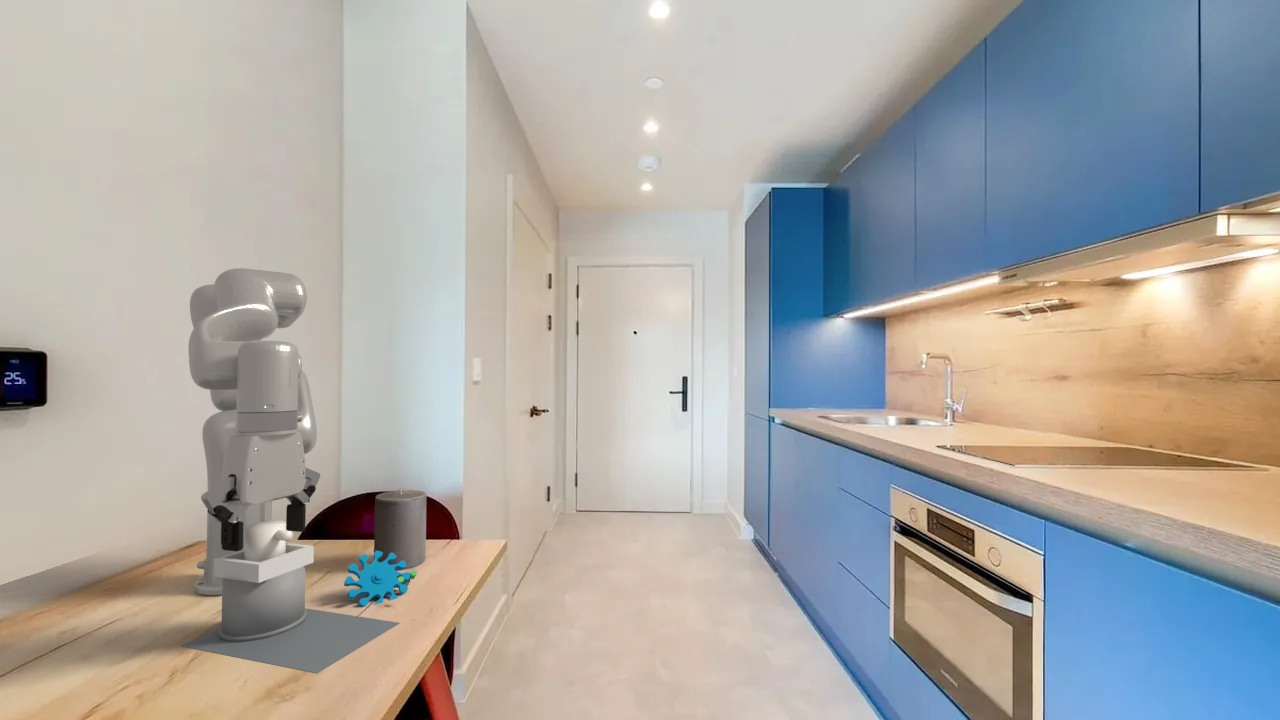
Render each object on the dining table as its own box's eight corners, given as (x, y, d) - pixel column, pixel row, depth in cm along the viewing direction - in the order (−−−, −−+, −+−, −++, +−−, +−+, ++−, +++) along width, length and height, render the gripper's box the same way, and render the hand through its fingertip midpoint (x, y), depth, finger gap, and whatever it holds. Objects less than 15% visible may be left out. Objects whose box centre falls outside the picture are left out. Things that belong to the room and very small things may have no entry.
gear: (344, 608, 82) (346, 549, 89) (337, 627, 85) (340, 568, 92) (419, 601, 88) (416, 546, 95) (410, 618, 91) (408, 564, 98)
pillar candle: (362, 567, 105) (363, 490, 106) (401, 552, 114) (402, 481, 115) (399, 574, 101) (400, 495, 102) (436, 558, 110) (437, 485, 111)
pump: (235, 573, 77) (236, 528, 77) (268, 562, 82) (269, 519, 82) (271, 578, 75) (272, 531, 75) (303, 566, 80) (304, 522, 80)
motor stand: (178, 652, 72) (180, 567, 73) (275, 610, 86) (276, 537, 86) (317, 681, 65) (318, 586, 66) (400, 629, 79) (400, 550, 79)
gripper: (300, 419, 89) (299, 522, 88) (185, 428, 72) (182, 556, 72) (336, 419, 87) (334, 526, 86) (225, 429, 70) (223, 561, 70)
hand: (265, 539), depth 79 cm, fingers open, 9 cm apart
